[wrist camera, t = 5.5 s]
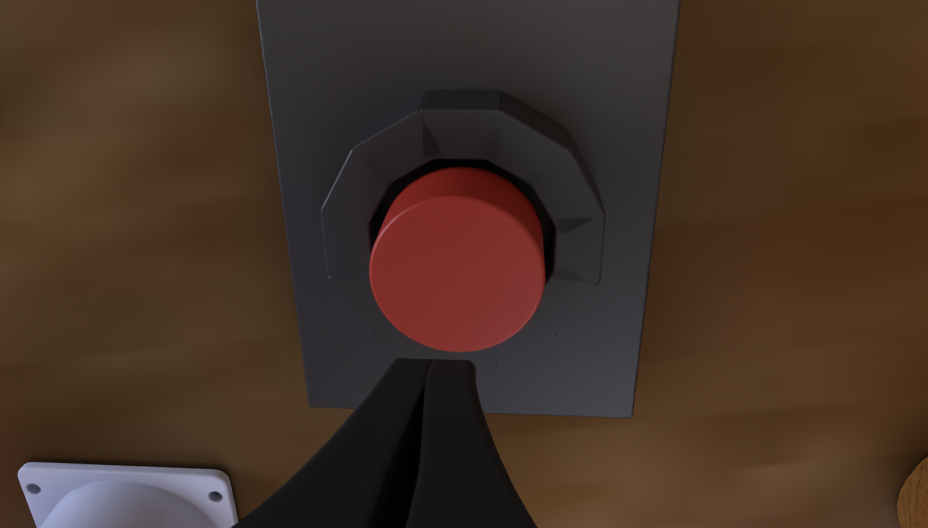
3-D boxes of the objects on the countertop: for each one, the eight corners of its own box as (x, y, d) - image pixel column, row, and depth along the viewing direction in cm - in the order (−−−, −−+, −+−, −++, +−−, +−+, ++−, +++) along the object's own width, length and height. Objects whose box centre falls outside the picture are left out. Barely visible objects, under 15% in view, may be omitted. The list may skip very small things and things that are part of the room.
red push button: (539, 312, 19) (542, 356, 17) (388, 308, 19) (374, 351, 17) (546, 166, 17) (549, 197, 15) (378, 163, 18) (362, 195, 16)
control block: (623, 376, 24) (641, 460, 21) (325, 367, 25) (292, 447, 21) (669, -52, 18) (705, -40, 15) (276, -49, 19) (220, -36, 15)
